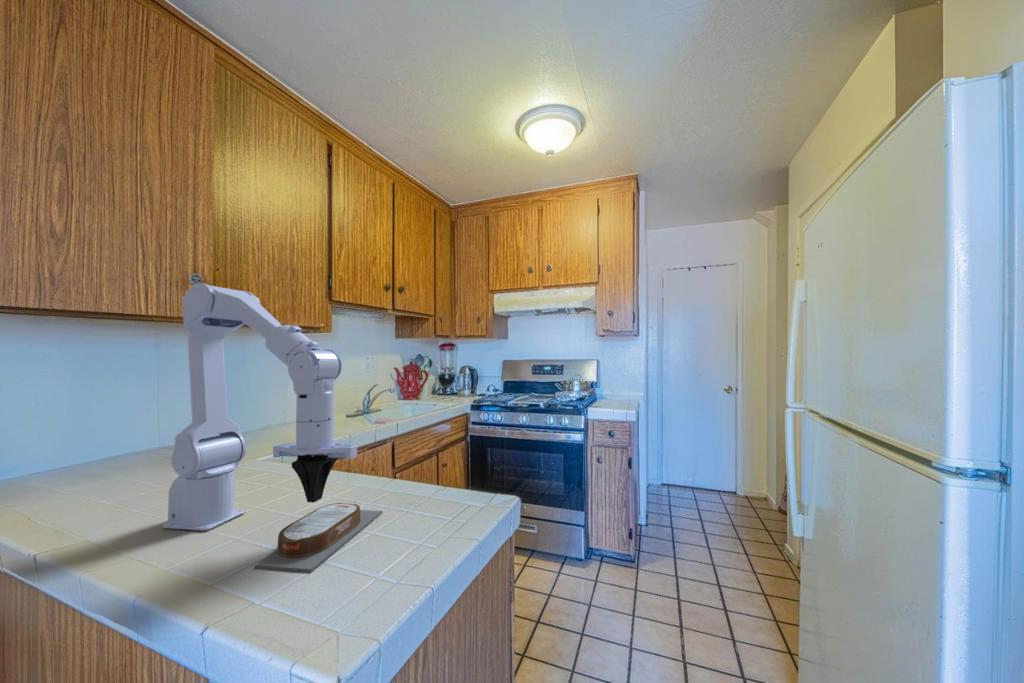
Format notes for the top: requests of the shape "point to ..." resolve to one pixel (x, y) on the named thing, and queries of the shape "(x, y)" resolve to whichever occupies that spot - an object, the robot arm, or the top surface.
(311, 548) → the tin
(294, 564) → the rubber mat
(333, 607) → the top surface
